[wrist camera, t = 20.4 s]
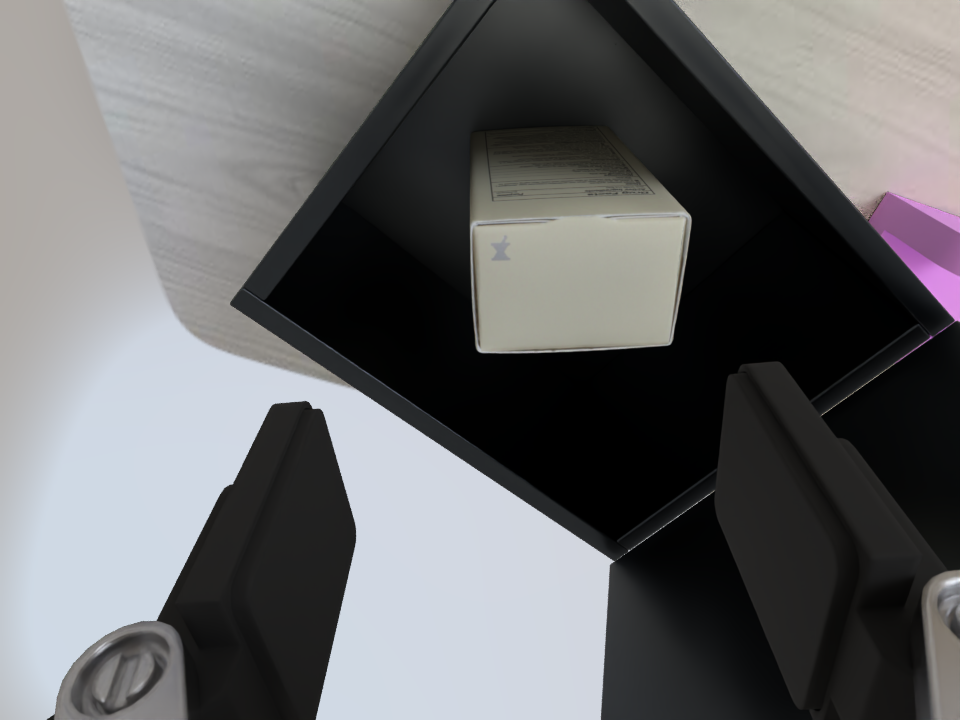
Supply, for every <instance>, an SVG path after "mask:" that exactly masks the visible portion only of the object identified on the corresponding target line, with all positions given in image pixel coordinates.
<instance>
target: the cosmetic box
mask: <svg viewBox="0 0 960 720" xmlns="http://www.w3.org/2000/svg"><path fill="white" fill-rule="evenodd" d="M691 222H692V219H691V216H690V214H689V213H688V212H687V211H686V210H685V209H684V208H683V207H682V206H681V205H680V204H679V203H678V201H677V200H676V199H675V198H674V197H673V196H672V195H671V194H670V193H669V192H668V191H667V190H666V189H665V188H664V186H663V185H662V184H661V183H660V182H659V181H658V180H657V179H656V178H655V177H654V176H653V174H652V173H651V172H650V171H649V170H648V169H647V168H646V167H645V166H644V165H643V164H642V163H641V161H640V160H639V159H638V158H637V157H636V156H635V155H634V154H633V153H632V152H631V151H630V150H629V149H628V147H627V146H626V145H625V144H624V143H623V142H622V141H621V140H620V139H619V138H618V137H617V136H616V135H615V134H614V132H613V131H612V130H611V129H610V128H609V127H607V126H560V127H538V128H518V129H503V130H490V131H478V132H472V133H471V135H470V263H471V288H472V308H473V321H474V332H475V344H476V349H477V351H479V352H481V353H548V352H572V351H593V350H610V349H627V348H641V347H654V346H668V345H670V344H671V343H672V341H673V335H674V328H675V323H676V318H677V313H678V306H679V301H680V295H681V291H682V284H683V276H684V270H685V265H686V259H687V252H688V244H689V237H690V231H691Z"/></svg>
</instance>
